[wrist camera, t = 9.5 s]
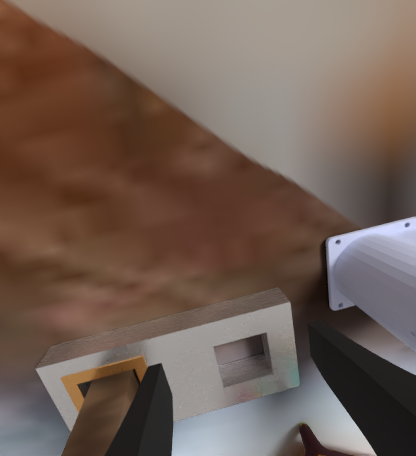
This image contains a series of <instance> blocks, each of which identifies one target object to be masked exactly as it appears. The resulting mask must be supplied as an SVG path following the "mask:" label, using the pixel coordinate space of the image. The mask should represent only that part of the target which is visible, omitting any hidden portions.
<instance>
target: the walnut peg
mask: <svg viewBox="0 0 416 456" xmlns="http://www.w3.org/2000/svg"><path fill="white" fill-rule="evenodd" d="M139 386H140V380H139V378H138V375H137V373H136V370H135V369H132V370H128V371H124V372H120V373H117V374H113V375H109V376H106V377H102V378H98V379H94V380H92V382H91V385H90V387H89V389H88V392H87V394H86V397H85V399H84V402H83V404H82V407H81V409H80V411H79V414H78V416H77V419H76V421H75V424H74V426H73V429H72V431H71V434H70V436H69V438H68V441H67V443H66V446H65V448H64V451H63V453H62V456H104V455H105V453H106V452H107V450H108V448H109V446H110V444H111V442H112V441H113V439H114V437H115V435H116V433H117V431H118V429H119V427H120V426H121V424H122V422H123V420H124V418H125V416H126V414H127V411H128V409H129V407H130V405H131V403H132V401H133V399H134V397H135V395H136V392H137V390H138V388H139Z"/></svg>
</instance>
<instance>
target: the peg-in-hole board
mask: <svg viewBox="0 0 416 456" xmlns="http://www.w3.org/2000/svg"><path fill="white" fill-rule="evenodd" d="M258 334H261V338H262V344H263V349H264V353H263V354H259V355H256V356H252V357H249V358H245V359H241V360H238V361H234V362H230V363H227V364H223V365H219V364H218V360H217V356H216V352H215V348H214V346H217V345H221V344H225V343H228V342H232V341H236V340H240V339H243V338H247V337H251V336H254V335H258ZM159 363H162V366H163V369H164V372H165V375H166V377H167V380H168V383H169V386H170V389H171V392H172V396H173V422H176V421H179V420H183V419H186V418H190V417H193V416H197V415H200V414H204V413H207V412H211V411H214V410H218V409H221V408H225V407H228V406H232V405H235V404H239V403H242V402H246V401H249V400H253V399H256V398H260V397H263V396H267V395H270V394H274V393H277V392H281V391H284V390H288V389H291V388H295V387H298V386H300V380H299V371H298V363H297V355H296V346H295V338H294V329H293V321H292V312H291V304H290V301H289V300H288V299H287V297H286V296H285V295H284V294H283V292H282V291H281V290H280V289H279V287H277V288H273V289H269V290H266V291H262V292H258V293H254V294H250V295H246V296H242V297H238V298H235V299H231V300H227V301H223V302H219V303H215V304H211V305H207V306H203V307H200V308H196V309H192V310H188V311H184V312H180V313H176V314H172V315H169V316H165V317H161V318H157V319H153V320H149V321H145V322H141V323H137V324H134V325H130V326H126V327H122V328H118V329H114V330H110V331H106V332H103V333H99V334H95V335H91V336H87V337H83V338H79V339H75V340H71V341H68V342H64V343H60V344H56V345H52V346H51V348H50V349H49V350H48V352H47V353H46V355H45V356H44V357H43V359H42V360H41V362H40V363H39V365H38V366H37V367H36V371H37V373H38V374H39V376H40V378H41V380H42V382H43V383H44V385H45V387H46V389H47V391H48V392H49V394H50V396H51V398H52V399H53V401H54V403H55V405H56V407H57V408H58V410H59V412H60V414H61V416H62V417H63V419H64V421H65V423H66V425H67V426H68V428H69V430H70V432H71V431H72V429H73V426H74V424H75V421H76V419H77V416H78V414H79V411H80V409H81V407H82V404H83V402H84V399H85V397H86V394H87V392H88V389H89V387H90V385H91V382H92V380H94V379H98V378H102V377H106V376H109V375H113V374H117V373H120V372H124V371H128V370H132V369H135V370H136V373H137V375H138V378H139V380H140V383H141V381H142V379H143V377H144V374H145V372H146V370H147V368H148V366H151V365H155V364H159Z"/></svg>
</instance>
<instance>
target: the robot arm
mask: <svg viewBox="0 0 416 456" xmlns="http://www.w3.org/2000/svg"><path fill="white" fill-rule="evenodd" d="M337 240H338V242H337V243H335V242H336V241H337ZM326 258H327V274H328V291H329V306H330V308H331V309H332V310H334V311H335V310H340V309H343V308H347V307H351V306H355V305H356V306H357V307H359V308H360V309H361V310H363V311H364V312H365V313H366V314H368V315H369V316H370V317H371V318H373V319H374V320H375V321H376V322H378V323H379V324H380V325H382V326H383V327H384V328H385V329H387V330H388V331H389V332H390V333H392V334H393V335H394V336H395V337H397V338H398V339H399V340H401V341H402V342H403V343H404V344H406V345H407V346H408V347H409V348H411V349H412V350H413V351H414V352H416V217H411V218H407V219H403V220H399V221H395V222H391V223H387V224H383V225H379V226H375V227H371V228H367V229H363V230H358V231H354V232H350V233H346V234H342V235H338V236H334V237H330V238H328V239H327V241H326ZM339 304H340V305H339ZM308 331H309V342H310V352H311V357H312V359H313V361H314V363H315V364H316V366H317V368H318V370H319V371H320V373H321V375H322V376H323V378H324V380H325V381H326V383H327V384H328V385H329V387H330V388H331V390H332V391H333V392H334V394H335V395H336V397H337V398H338V399H339V401H340V402H341V404H342V405H343V406H344V408H345V409H346V411H347V412H348V413H349V415H350V416H351V418H352V419H353V420H354V422H355V423H356V425H357V426H358V427H359V429H360V430H361V432H362V433H363V435H364V436H365V438H366V439H367V441H368V442H369V444H370V445H371V447H372V448H373V450H374V451H375V453H376V455H377V456H416V375H414V374H412V373H410V372H408V371H406V370H404V369H402V368H400V367H398V366H396V365H394V364H392V363H390V362H389V361H387V360H385V359H383V358H381V357H379V356H378V355H376V354H374V353H372V352H371V351H369V350H367V349H366V348H364V347H362V346H361V345H359V344H357V343H356V342H354V341H352V340H351V339H349V338H348V337H346V336H344V335H343V334H341V333H340V332H338V331H336V330H335V329H333V328H332V327H330V326H329V325H327V324H325V323H324V322H322V321H321V320H317V321H314V322H310V323H308ZM172 437H173V396H172V392H171V389H170V386H169V383H168V380H167V377H166V375H165V372H164V369H163V366H162V363H159V364H155V365H151V366H148V368H147V370H146V372H145V374H144V377H143V379H142V381H141V383H140V386H139V388H138V390H137V392H136V395H135V397H134V399H133V401H132V403H131V405H130V407H129V409H128V411H127V414H126V416H125V418H124V420H123V422H122V424H121V426H120V427H119V429H118V431H117V433H116V435H115V437H114V439H113V441H112V442H111V444H110V446H109V448H108V450H107V452H106V453H105V455H104V456H171V453H172Z"/></svg>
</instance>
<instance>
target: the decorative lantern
mask: <svg viewBox="0 0 416 456" xmlns="http://www.w3.org/2000/svg"><path fill="white" fill-rule="evenodd" d="M299 430H300V434H301V437H302V441H303V444H304V449H305V456H352V455H348V454H344V453H339V452H335V451H331V450H329V449H326V448H325V447H323V446H322V445H321V444H320V442H319V441H318V440H317V438H316V437H315V435H314V434H313V432H312V430H311V429H310V427H309V426H308V425H307V424H305V423H301V424H300V426H299Z"/></svg>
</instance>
